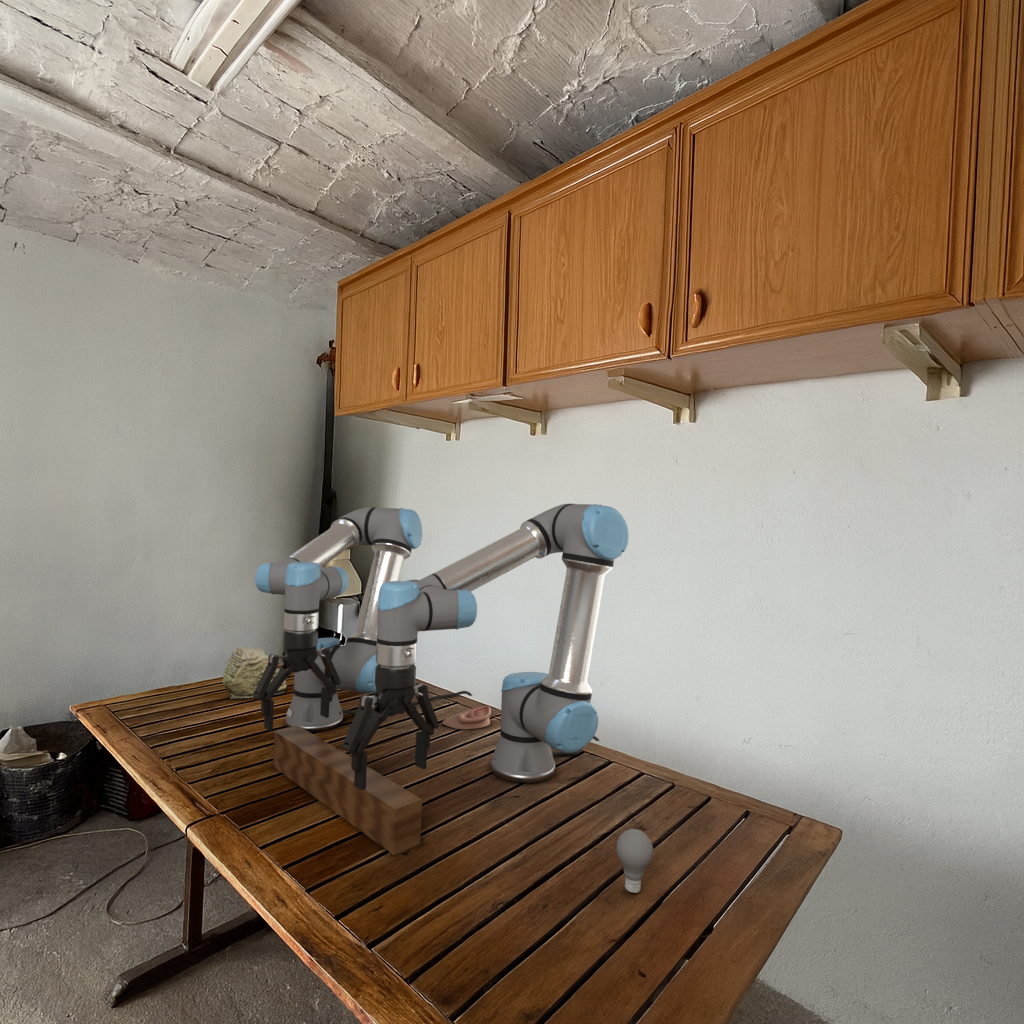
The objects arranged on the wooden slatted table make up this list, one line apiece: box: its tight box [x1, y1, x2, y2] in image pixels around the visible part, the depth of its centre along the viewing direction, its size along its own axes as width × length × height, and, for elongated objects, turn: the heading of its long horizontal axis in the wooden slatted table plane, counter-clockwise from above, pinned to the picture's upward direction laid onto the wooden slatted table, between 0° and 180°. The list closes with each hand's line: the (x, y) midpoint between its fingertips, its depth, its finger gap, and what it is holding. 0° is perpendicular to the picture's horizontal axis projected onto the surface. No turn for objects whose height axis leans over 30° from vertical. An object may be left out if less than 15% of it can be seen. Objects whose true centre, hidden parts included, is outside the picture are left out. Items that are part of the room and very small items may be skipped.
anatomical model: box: [441, 705, 492, 730], centre depth 181 cm, size 13×4×12 cm
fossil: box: [222, 646, 288, 699], centre depth 198 cm, size 9×18×15 cm, turn 132°
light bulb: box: [615, 828, 654, 894], centre depth 106 cm, size 6×6×10 cm
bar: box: [272, 726, 423, 856], centre depth 132 cm, size 49×6×8 cm, turn 45°
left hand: (297, 722), depth 145 cm, fingers open, 13 cm apart
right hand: (391, 776), depth 119 cm, fingers open, 13 cm apart
